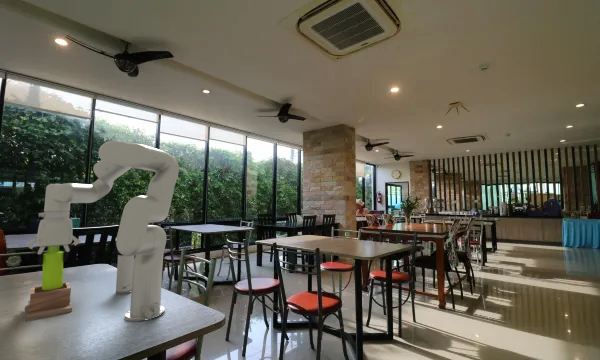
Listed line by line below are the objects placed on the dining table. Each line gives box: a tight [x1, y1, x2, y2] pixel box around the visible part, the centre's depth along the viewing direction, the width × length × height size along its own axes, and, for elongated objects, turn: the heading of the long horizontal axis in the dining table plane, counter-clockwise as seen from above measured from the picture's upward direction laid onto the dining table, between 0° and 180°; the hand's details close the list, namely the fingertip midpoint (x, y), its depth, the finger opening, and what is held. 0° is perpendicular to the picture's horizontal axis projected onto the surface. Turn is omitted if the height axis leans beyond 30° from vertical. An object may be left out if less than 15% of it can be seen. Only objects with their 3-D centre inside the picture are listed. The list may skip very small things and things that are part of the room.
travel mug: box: [115, 250, 135, 295], centre depth 125 cm, size 6×7×20 cm
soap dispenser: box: [41, 246, 64, 290], centre depth 106 cm, size 6×7×20 cm
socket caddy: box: [25, 281, 73, 322], centre depth 105 cm, size 20×12×8 cm, turn 43°
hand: (53, 262), depth 106 cm, fingers closed on soap dispenser, 6 cm apart
